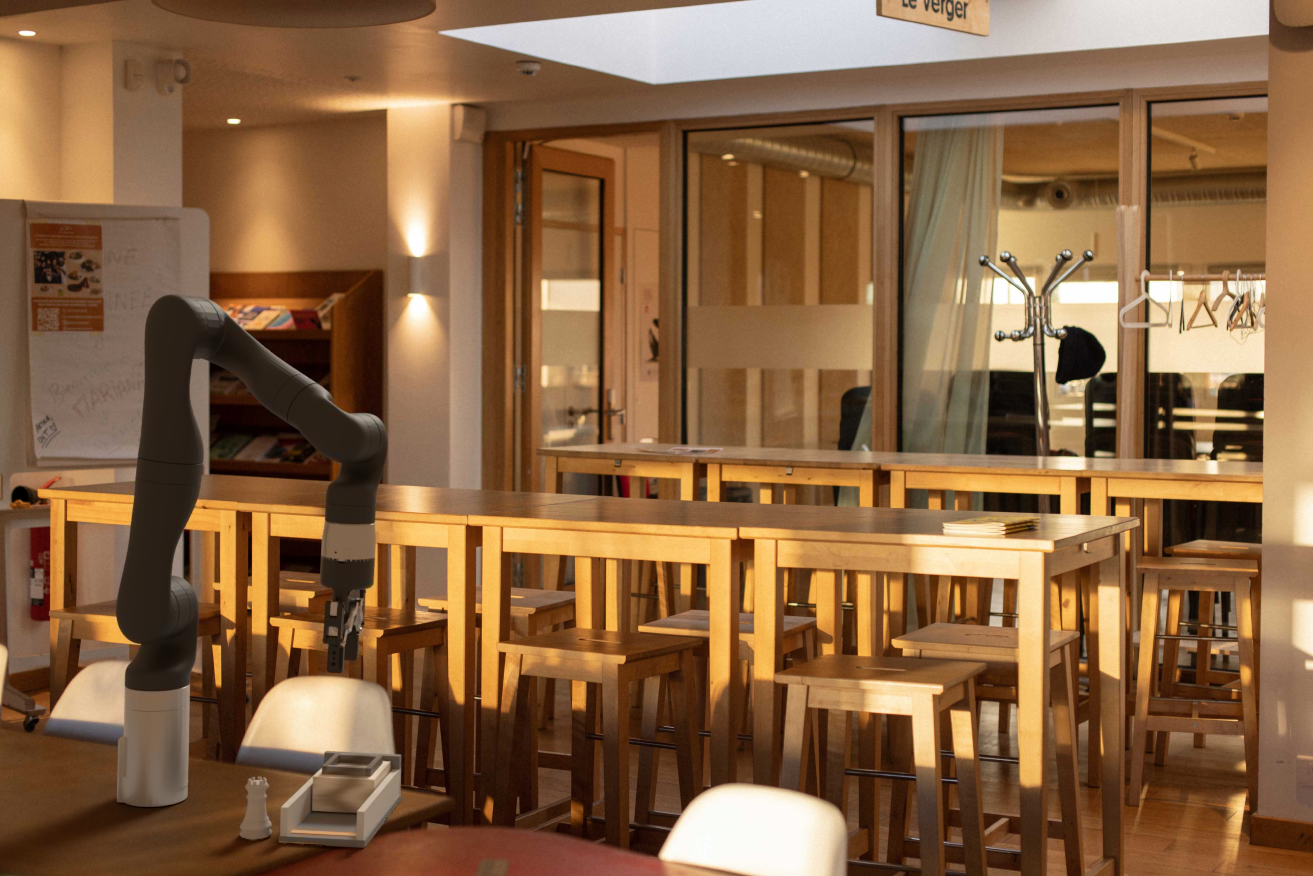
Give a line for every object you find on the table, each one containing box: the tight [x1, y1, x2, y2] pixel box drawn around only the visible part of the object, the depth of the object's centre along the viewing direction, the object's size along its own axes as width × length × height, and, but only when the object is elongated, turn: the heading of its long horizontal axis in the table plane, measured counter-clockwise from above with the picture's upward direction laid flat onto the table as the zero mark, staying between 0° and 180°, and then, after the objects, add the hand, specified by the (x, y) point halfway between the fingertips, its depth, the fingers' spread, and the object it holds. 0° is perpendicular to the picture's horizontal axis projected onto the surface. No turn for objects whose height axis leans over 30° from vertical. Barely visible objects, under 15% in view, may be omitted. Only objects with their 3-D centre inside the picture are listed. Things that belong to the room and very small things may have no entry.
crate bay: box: [278, 750, 402, 849], centre depth 207 cm, size 12×22×7 cm, turn 177°
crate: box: [312, 753, 391, 813], centre depth 212 cm, size 9×10×6 cm
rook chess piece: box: [238, 776, 273, 839], centre depth 199 cm, size 4×4×8 cm
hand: (342, 666), depth 204 cm, fingers open, 8 cm apart
